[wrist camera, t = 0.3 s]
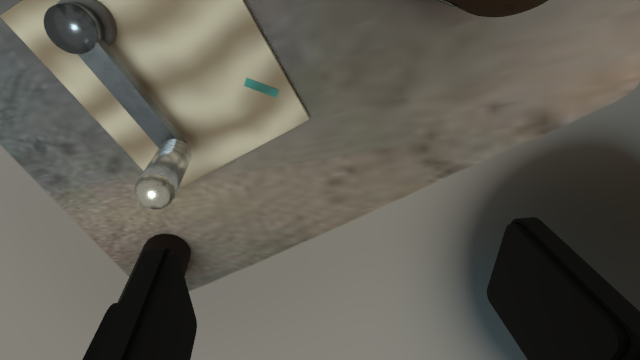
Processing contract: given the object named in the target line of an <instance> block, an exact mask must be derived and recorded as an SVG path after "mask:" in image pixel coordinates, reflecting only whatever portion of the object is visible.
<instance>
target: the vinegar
mask: <svg viewBox="0 0 640 360" xmlns="http://www.w3.org/2000/svg"><path fill="white" fill-rule="evenodd" d="M158 248H169V249H170V251H171V253H177V254H178V256H179V260H180V263H181V267H182V271H183V274H184V276H185V272H186V269H187V265H188V262H189V259H190V249H189V247H188V245H187V244H186V243H185V242H184V241H183V240H182V239H180V238H178V237H176V236H172V235H158V236H154V237H153V238H151V239H149V240H148V241H147V242H146V244H145V245H144V247H143V249H142V251H141V253H140V256H139V258H138V260H137V262H136V264H135V266H134V268H133V271H132V273H131V275H130V277H129V279H128V281H127V283H126V286H125V288H124V290H123V292H122V294H121V296H120V299H119V301H118V303H119V302H120V300H121V298H122V296H123V294H124V292H125V290H126V288H127V285H128V283H129V281H130V279H131V277H132V275H133V273H134V271H135V268H136V266H137V264H138V262H139V260H140V258H141V256H142V254H143V252H144V251H145V250H146V249H158Z"/></svg>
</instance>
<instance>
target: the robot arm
mask: <svg viewBox="0 0 640 360" xmlns="http://www.w3.org/2000/svg"><path fill="white" fill-rule="evenodd" d="M487 296H488V299H489V301H490V303H491V304H492V306H493V307H494V309H495V311H496V312H497V314H498V315H499V317H500V318H501V319H502V321H503V323H504V324H505V326H506V327H507V329H508V330H509V332H510V333H511V335H512V336H513V338H514V339H515V341H516V343H517V344H518V345H519V347H520V349H521V350H522V352H523V353H524V354H525V356H526V357H527V359H528V360H640V311H638V310H637V309H636V308H635V307H634V306H633V305H632V304H631V303H630V302H629V301H628V300H626V299H625V298H624V297H623V296H622V295H621V294H620V293H619V292H618V291H617V290H616V289H614V288H613V287H612V286H611V285H610V284H609V283H608V282H607V281H606V280H605V279H604V278H603V277H601V276H600V275H599V274H598V273H597V272H596V271H595V270H594V269H593V268H592V267H591V266H590V265H588V264H587V263H586V262H585V261H584V260H583V259H582V258H581V257H579V255H578V254H576V253H575V252H574V251H573V250H572V249H571V248H570V247H569V246H568V245H567V244H566V243H565V242H563V241H562V240H561V239H560V238H559V237H558V236H557V235H556V234H555V233H554V232H553V231H551V230H550V229H549V228H548V227H547V226H546V225H545V224H544V223H543V222H542V221H541V220H539V219H538V218H534V217H532V218H520V219H514V220H513V221H512V222H511V224H509V225H508V226H507V227H506V230H505V233H504V236H503V239H502V243H501V246H500V249H499V253H498V256H497V259H496V262H495V266H494V269H493V272H492V275H491V278H490V282H489V285H488V289H487ZM196 328H197V322H196V317H195V314H194V310H193V307H192V303H191V299H190V296H189V292H188V288H187V285H186V281H185V278H184V274H183V271H182V267H181V263H180V260H179V256H178V254H177V253H171V251H170V249H169V248H158V249H146V250H145V251H144V252H143V254H142V256H141V258H140V260H139V262H138V264H137V266H136V268H135V271H134V273H133V275H132V277H131V279H130V281H129V283H128V285H127V288H126V290H125V292H124V294H123V296H122V298H121V300H120V302H119V303H114V304H112V305H111V306H110V307H109V309H108V310H107V312H106V314H105V316H104V318H103V320H102V322H101V324H100V326H99V328H98V330H97V332H96V334H95V336H94V338H93V340H92V342H91V344H90V346H89V348H88V350H87V352H86V354H85V356H84V358H83V360H190V358H191V354H192V349H193V344H194V339H195V335H196Z"/></svg>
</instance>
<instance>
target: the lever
mask: <svg viewBox="0 0 640 360" xmlns="http://www.w3.org/2000/svg"><path fill="white" fill-rule="evenodd" d="M44 28H45V31H46V33H47V35H48V37H49V38H50V40H51V41H52V42H53V43H54V44H55V45H56V46H57V47H59V48H60V49H62V50H64V51H66V52H68V53H72V54H78V56H79V57H80V58H81V59H82V60H83V61H84V63H85V64H86V65H87V66H88V67H89V68H90V69H91V71H92V72H93V73H94V74H95V75H96V76H97V78H98V79H99V80H100V81H101V82H102V83H103V85H104V86H105V87H106V88H107V89H108V90H109V91H110V93H111V94H112V95H113V96H114V97H115V98H116V100H117V101H118V102H119V103H120V104H121V105H122V106H123V108H124V109H125V110H126V111H127V112H128V113H129V115H130V116H131V117H132V118H133V119H134V120H135V121H136V123H137V124H138V125H139V126H140V127H141V128H142V130H143V131H144V132H145V133H146V134H147V135H148V136H149V138H150V139H151V140H152V141H153V142H154V143H155V145H156V146H157V147H158V150H157V152H156V153H155V155H154V156H153V158H152V159H151V161H150V163H149V164H148V166H147V167H146V169H145V170H144V172H143V174H142V175H141V177H140V178H139V180H138V181H137V183H136V186H135V196H136V198H137V200H138V201H139V203H140V204H141V205H143V206H144V207H146V208H149V209H161V208H164V207H166V206H168V205H169V204H170V203H171V202H172V201H173V199H174V197H175V195H176V193H177V190H178V188H179V186H180V184H181V181H182V179H183V177H184V174H185V172H186V170H187V167H188V165H189V163H190V160H191V158H192V152H191V149H190V147H189V146H188V145H187V142H186V141H185V139H184V138H183V137H182V136H181V134H180V133H179V132H178V131H177V129H176V128H175V127H174V126H173V124H172V123H171V122H170V121H169V120H168V118H167V117H166V116H165V115H164V113H163V112H162V111H161V110H160V108H159V107H158V106H157V105H156V103H155V102H154V101H153V100H152V98H151V97H150V96H149V95H148V93H147V92H146V91H145V90H144V89H143V87H142V86H141V85H140V84H139V82H138V81H137V80H136V79H135V77H134V76H133V75H132V74H131V72H130V71H129V70H128V69H127V67H126V66H125V65H124V64H123V62H122V61H121V60H120V59H119V58H118V56H117V55H116V54H115V53H114V51H113V50H112V49H111V48H110V46H109V45H108V44H107V43H106V41H105V40H104V35H105V31H104V26H103V23H102V21H101V19H100V18H99V16H98V15H97V14H96V13H95V12H94V11H93V10H92V9H91V8H89V7H88V6H86V5H84V4H81V3H78V2H67V3H61V4H56V5H53V6H51V7H50V8H49V9H48V10H47V11H46V13H45V15H44Z"/></svg>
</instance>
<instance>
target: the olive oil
mask: <svg viewBox="0 0 640 360" xmlns="http://www.w3.org/2000/svg"><path fill="white" fill-rule="evenodd" d="M437 1H440V2H442V3H445V4H448V5H450V6H453V7H456V8H458V9H461V10H463V11H466V12H468V13H471V14H474V15H478V16H485V17H504V16H510V15H514V14H518V13H521V12H524V11H527V10H530V9H532V8H535V7H537V6H539V5H541V4H543V3H545V2H546V1H548V0H437Z"/></svg>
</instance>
